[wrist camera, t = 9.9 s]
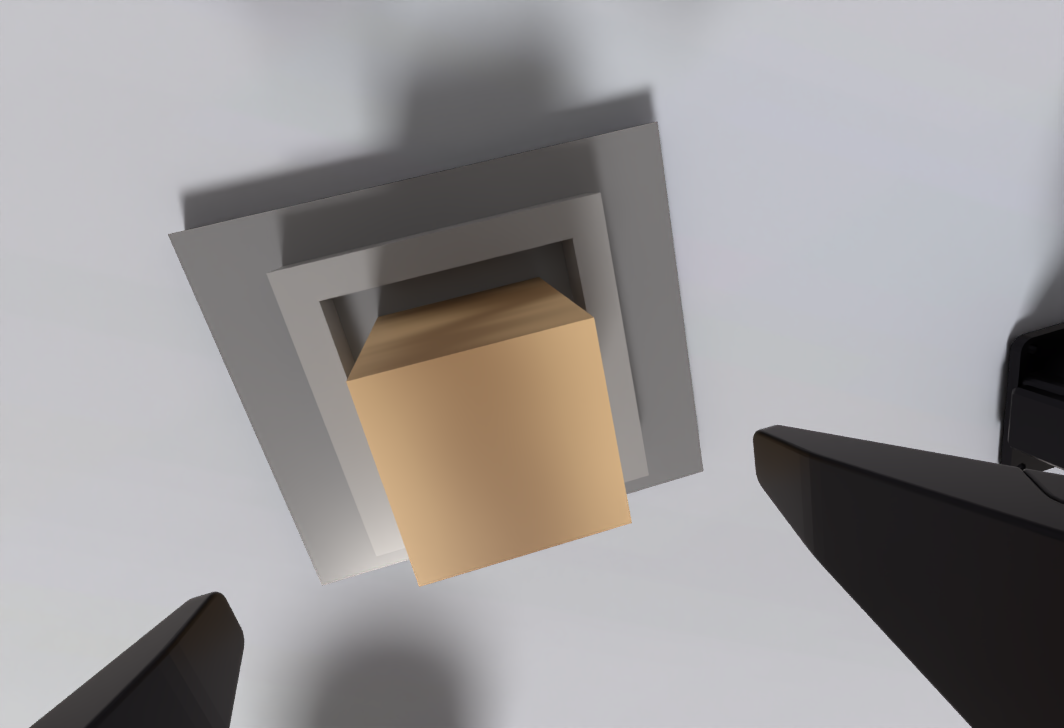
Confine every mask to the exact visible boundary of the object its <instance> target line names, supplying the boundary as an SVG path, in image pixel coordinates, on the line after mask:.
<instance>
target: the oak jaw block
mask: <svg viewBox="0 0 1064 728" xmlns="http://www.w3.org/2000/svg"><path fill="white" fill-rule="evenodd" d="M346 383H347V386H348V388H349V391H350V394H351V397H352V400H353V402H354V405H355V408H356V411H357V414H358V416H359V419H360V422H361V425H362V428H363V430H364V433H365V436H366V439H367V442H368V445H369V447H370V450H371V453H372V456H373V459H374V461H375V464H376V467H377V470H378V473H379V475H380V478H381V481H382V484H383V487H384V489H385V492H386V495H387V498H388V501H389V503H390V506H391V509H392V512H393V515H394V517H395V520H396V523H397V526H398V529H399V531H400V534H401V537H402V540H403V543H404V545H405V548H406V551H407V554H408V557H409V559H410V562H411V565H412V568H413V571H414V573H415V576H416V579H417V582H418V585H419V587H420V586H424V585H427V584H430V583H434V582H437V581H440V580H444V579H447V578H450V577H454V576H457V575H460V574H464V573H467V572H470V571H473V570H477V569H480V568H483V567H487V566H490V565H493V564H497V563H500V562H503V561H507V560H510V559H513V558H517V557H520V556H523V555H527V554H530V553H533V552H537V551H540V550H543V549H547V548H550V547H553V546H557V545H560V544H563V543H566V542H570V541H573V540H576V539H580V538H583V537H586V536H590V535H593V534H596V533H600V532H603V531H606V530H610V529H613V528H616V527H620V526H623V525H626V524H630V523H632V522H631V517H630V511H629V506H628V500H627V495H626V489H625V484H624V478H623V473H622V467H621V462H620V456H619V451H618V446H617V440H616V435H615V429H614V424H613V418H612V413H611V407H610V402H609V396H608V391H607V385H606V380H605V375H604V369H603V364H602V358H601V353H600V347H599V342H598V336H597V331H596V325H595V320H594V317H593V316H591V315H590V314H589V313H587V312H586V311H585V310H583V309H582V308H581V307H579V306H578V305H576V304H575V303H574V302H572V301H571V300H570V299H568V298H567V297H566V296H564V295H563V294H562V293H560V292H559V291H557V290H556V289H555V288H553V287H552V286H551V285H549V284H548V283H547V282H545V281H544V280H542V279H541V278H540V277H537V278H533V279H529V280H525V281H521V282H517V283H513V284H509V285H505V286H501V287H496V288H492V289H488V290H484V291H480V292H476V293H472V294H468V295H464V296H460V297H456V298H452V299H448V300H444V301H440V302H436V303H432V304H428V305H424V306H420V307H416V308H412V309H408V310H404V311H400V312H396V313H392V314H388V315H384V316H380V317H378V318H377V320H376V322H375V324H374V326H373V328H372V330H371V332H370V334H369V336H368V338H367V340H366V342H365V344H364V346H363V348H362V350H361V352H360V354H359V356H358V358H357V361H356V363H355V365H354V367H353V369H352V371H351V373H350V375H349V377H348V379H347V381H346Z"/></svg>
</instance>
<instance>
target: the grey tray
mask: <svg viewBox="0 0 1064 728" xmlns="http://www.w3.org/2000/svg"><path fill="white" fill-rule="evenodd" d="M168 236H169V238H170V240H171V242H172V245H173V247H174V249H175V252H176V254H177V256H178V258H179V261H180V263H181V265H182V268H183V270H184V272H185V274H186V277H187V279H188V281H189V283H190V286H191V288H192V290H193V293H194V295H195V297H196V299H197V302H198V304H199V306H200V308H201V311H202V313H203V315H204V318H205V320H206V322H207V324H208V327H209V329H210V331H211V333H212V336H213V338H214V340H215V343H216V345H217V347H218V349H219V352H220V354H221V356H222V359H223V361H224V363H225V365H226V368H227V370H228V372H229V374H230V377H231V379H232V381H233V384H234V386H235V388H236V390H237V393H238V395H239V397H240V399H241V402H242V404H243V406H244V409H245V411H246V413H247V415H248V418H249V420H250V422H251V425H252V427H253V429H254V431H255V434H256V436H257V438H258V440H259V443H260V445H261V447H262V450H263V452H264V454H265V456H266V459H267V461H268V463H269V465H270V468H271V470H272V472H273V475H274V477H275V479H276V481H277V484H278V486H279V488H280V490H281V493H282V495H283V497H284V500H285V502H286V504H287V506H288V509H289V511H290V513H291V516H292V518H293V520H294V522H295V525H296V527H297V529H298V531H299V534H300V536H301V538H302V541H303V543H304V545H305V547H306V550H307V552H308V554H309V556H310V559H311V561H312V563H313V566H314V568H315V570H316V572H317V575H318V577H319V579H320V582H321V584H322V586H323V585H326V584H329V583H333V582H336V581H339V580H343V579H346V578H349V577H353V576H356V575H359V574H363V573H366V572H369V571H373V570H376V569H379V568H383V567H386V566H389V565H393V564H396V563H399V562H403V561H406V560H409V557H408V554H407V551H406V548H405V545H404V543H403V540H402V537H401V534H400V531H399V529H398V526H397V523H396V520H395V517H394V515H393V512H392V509H391V506H390V503H389V501H388V498H387V495H386V492H385V489H384V487H383V484H382V481H381V478H380V475H379V473H378V470H377V467H376V464H375V461H374V459H373V456H372V453H371V450H370V447H369V445H368V442H367V439H366V436H365V433H364V430H363V428H362V425H361V422H360V419H359V416H358V414H357V411H356V408H355V405H354V402H353V400H352V397H351V394H350V391H349V388H348V386H347V383H346V381H347V379H348V377H349V375H350V373H351V371H352V369H353V367H354V365H355V363H356V361H357V358H358V356H359V354H360V352H361V350H362V348H363V346H364V344H365V342H366V340H367V338H368V336H369V334H370V332H371V330H372V328H373V326H374V324H375V322H376V320H377V318H378V317H380V316H384V315H388V314H392V313H396V312H400V311H404V310H408V309H412V308H416V307H420V306H424V305H428V304H432V303H436V302H440V301H444V300H448V299H452V298H456V297H460V296H464V295H468V294H472V293H476V292H480V291H484V290H488V289H492V288H496V287H501V286H505V285H509V284H513V283H517V282H521V281H525V280H529V279H533V278H537V277H540V278H541V279H542V280H544V281H545V282H547V283H548V284H549V285H551V286H552V287H553V288H555V289H556V290H557V291H559V292H560V293H562V294H563V295H564V296H566V297H567V298H568V299H570V300H571V301H572V302H574V303H575V304H576V305H578V306H579V307H581V308H582V309H583V310H585V311H586V312H587V313H589V314H590V315H591V316H593V317H594V320H595V325H596V331H597V336H598V342H599V347H600V353H601V358H602V364H603V369H604V375H605V380H606V385H607V391H608V396H609V402H610V407H611V413H612V418H613V424H614V429H615V435H616V440H617V446H618V451H619V456H620V462H621V467H622V473H623V478H624V484H625V489H626V494H629V493H632V492H636V491H639V490H642V489H646V488H649V487H652V486H655V485H659V484H662V483H665V482H669V481H672V480H675V479H679V478H682V477H685V476H689V475H692V474H695V473H699V472H702V471H703V464H702V457H701V449H700V442H699V434H698V426H697V419H696V411H695V404H694V396H693V388H692V381H691V373H690V366H689V358H688V350H687V343H686V335H685V328H684V320H683V312H682V305H681V297H680V290H679V282H678V274H677V267H676V259H675V252H674V244H673V236H672V229H671V221H670V214H669V206H668V198H667V191H666V183H665V175H664V168H663V160H662V153H661V145H660V137H659V130H658V122H653V123H648V124H644V125H640V126H635V127H631V128H627V129H622V130H618V131H614V132H609V133H605V134H601V135H596V136H592V137H588V138H583V139H579V140H575V141H570V142H566V143H562V144H557V145H553V146H549V147H544V148H540V149H536V150H531V151H527V152H523V153H518V154H514V155H510V156H505V157H501V158H497V159H492V160H488V161H484V162H479V163H475V164H471V165H466V166H462V167H458V168H453V169H449V170H445V171H440V172H436V173H432V174H427V175H423V176H419V177H414V178H410V179H406V180H401V181H397V182H393V183H388V184H384V185H380V186H375V187H371V188H367V189H362V190H358V191H354V192H349V193H345V194H341V195H336V196H332V197H328V198H323V199H319V200H315V201H310V202H306V203H302V204H297V205H293V206H289V207H284V208H280V209H276V210H271V211H267V212H263V213H258V214H254V215H250V216H245V217H241V218H237V219H232V220H228V221H224V222H219V223H215V224H211V225H206V226H202V227H198V228H193V229H189V230H185V231H180V232H176V233H172V234H168Z"/></svg>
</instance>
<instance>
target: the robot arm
mask: <svg viewBox="0 0 1064 728" xmlns="http://www.w3.org/2000/svg"><path fill="white" fill-rule="evenodd" d="M753 446H754V457H755V467H756V475H757V478H758V481H759V483H760V485H761V486H762V488H763V489H764V491H765V492H766V493H767V495H768V496H769V497H770V499H771V500H772V501H773V503H774V504H775V505H776V507H777V508H778V509H779V511H780V512H781V513H782V515H783V516H784V517H785V519H786V520H787V521H788V523H789V524H790V525H791V527H792V528H793V529H794V531H795V532H796V533H797V535H798V536H799V537H800V539H801V540H802V541H803V543H804V544H805V545H806V547H807V548H808V549H809V550H810V552H811V553H812V554H813V555H814V557H815V558H816V559H817V560H818V561H819V562H820V563H821V565H822V566H823V567H824V568H825V569H826V570H827V571H828V572H829V573H830V574H831V576H832V577H833V578H834V579H835V580H836V581H837V582H838V583H839V584H840V585H841V586H842V587H843V589H844V590H845V591H846V592H847V593H848V594H849V595H850V596H851V597H852V598H853V599H854V600H855V602H856V603H857V604H858V605H859V606H860V607H861V608H862V609H863V610H864V611H865V612H866V613H867V615H868V616H869V617H870V618H871V619H872V620H873V621H874V622H875V623H876V624H877V625H878V626H879V628H880V629H881V630H882V631H883V632H884V633H885V634H886V635H887V636H888V637H889V638H890V639H891V641H892V642H893V643H894V644H895V645H896V646H897V647H898V648H899V649H900V650H901V651H902V652H903V653H904V655H905V656H906V657H907V658H908V659H909V660H910V661H911V662H912V663H913V664H914V665H915V666H916V668H917V669H918V670H919V671H920V672H921V673H922V674H923V675H924V676H925V677H926V678H927V679H928V681H929V682H930V683H931V684H932V685H933V686H934V687H935V688H936V689H937V690H938V691H939V692H940V694H941V695H942V696H943V697H944V698H945V699H946V700H947V701H948V702H949V703H950V704H951V705H952V707H953V708H954V709H955V710H956V711H957V712H958V713H959V714H960V715H961V716H962V717H963V718H964V720H965V721H966V722H967V723H968V724H969V725H970V726H971V727H972V728H1064V475H1060V474H1054V473H1048V472H1043V471H1044V470H1048V469H1051V468H1054V467H1057V468H1059V469H1062V470H1064V323H1061V324H1058V325H1055V326H1051V327H1048V328H1044V329H1041V330H1038V331H1034V332H1031V333H1027V334H1024V335H1021V336H1019V337H1018V338H1017V339H1016V340H1014V342H1013V344H1012V346H1011V350H1010V362H1009V374H1008V386H1007V399H1006V411H1005V423H1004V436H1003V448H1002V461H1001V464H997V463H991V462H985V461H980V460H974V459H969V458H963V457H957V456H952V455H946V454H940V453H935V452H929V451H923V450H918V449H912V448H906V447H901V446H895V445H889V444H884V443H878V442H872V441H867V440H861V439H855V438H850V437H844V436H838V435H833V434H827V433H821V432H816V431H810V430H804V429H799V428H793V427H788V426H782V425H774V426H771V427H767V428H764V429H761V430H758V431H756V432H755V434H754V437H753ZM243 650H244V635H243V631H242V629H241V627H240V625H239V623H238V621H237V619H236V617H235V615H234V613H233V611H232V609H231V607H230V605H229V604H228V602H227V600H226V598H225V597H224V595H223V594H221V593H219V592H211V593H208V594H205V595H201V596H198V597H195V598H192V599H190V600H188V601H187V602H185V603H184V604H183V605H182V606H180V607H179V608H178V609H177V610H175V611H174V612H173V613H172V614H170V615H169V616H168V617H167V618H165V619H164V620H163V621H162V622H160V623H159V624H158V625H157V626H155V627H154V628H153V629H152V630H150V631H149V632H148V633H147V634H145V635H144V636H143V637H142V638H140V639H139V640H138V641H137V642H136V643H134V644H133V645H132V646H131V647H129V648H128V649H127V650H126V651H124V652H123V653H122V654H121V655H119V656H118V657H117V658H116V659H114V660H113V661H112V662H111V663H109V664H108V665H107V666H106V667H104V668H103V669H102V670H101V671H99V672H98V673H97V674H96V675H94V676H93V677H92V678H91V679H89V680H88V681H87V682H86V683H84V684H83V685H82V686H81V687H79V688H78V689H77V690H76V691H74V692H73V693H72V694H71V695H69V696H68V697H67V698H66V699H64V700H63V701H62V702H61V703H59V704H58V705H57V706H56V707H54V708H53V709H52V710H51V711H49V712H48V713H47V714H46V715H44V716H43V717H42V718H41V719H39V720H38V721H37V722H36V723H34V724H33V725H32V726H31V727H30V728H229V727H230V721H231V716H232V710H233V705H234V699H235V694H236V688H237V683H238V677H239V672H240V666H241V661H242V655H243Z"/></svg>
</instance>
